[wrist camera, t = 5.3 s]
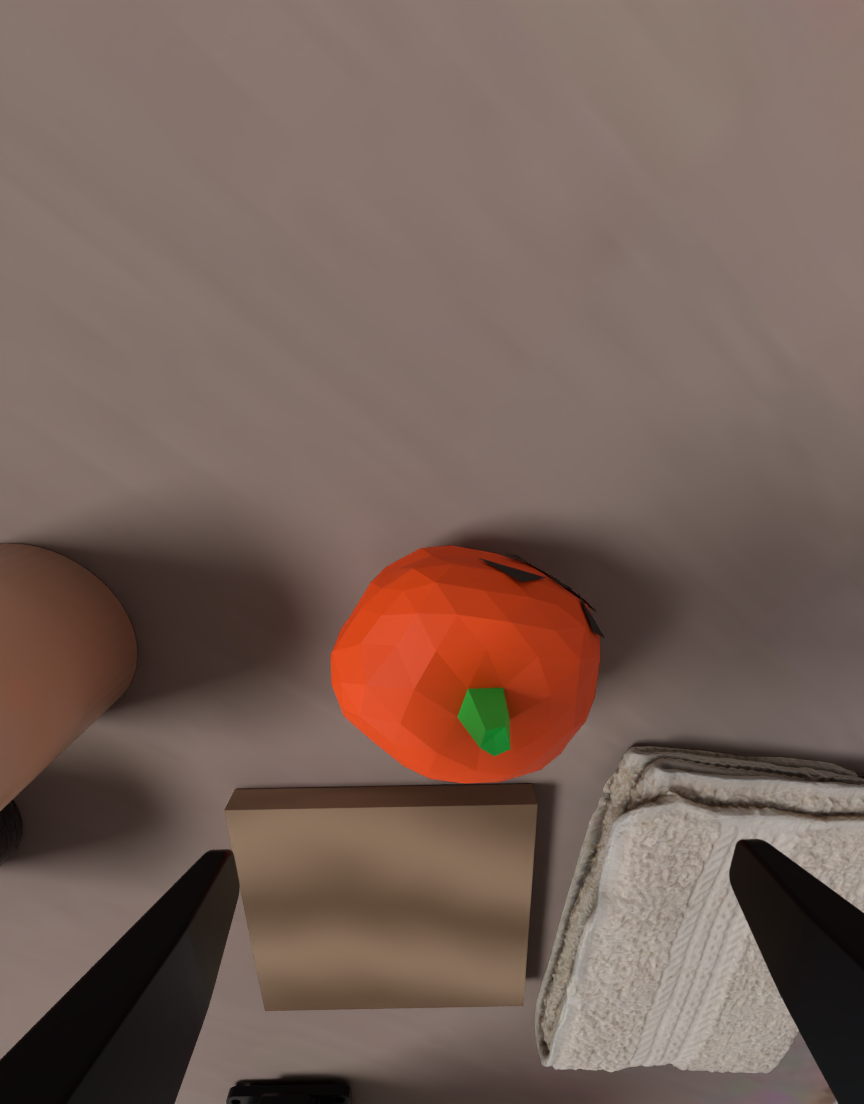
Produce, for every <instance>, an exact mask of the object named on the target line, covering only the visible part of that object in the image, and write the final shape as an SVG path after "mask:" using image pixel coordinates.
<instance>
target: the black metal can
mask: <svg viewBox="0 0 864 1104" xmlns="http://www.w3.org/2000/svg"><path fill="white" fill-rule="evenodd" d="M21 835H22V822H21V818H20V814H19V812H18V809H17V807H16V805H15V804H14V802H13V801H10V802H9V803H8V804H7V805H6V806H5V807H4V808H3V809H2V810H1V811H0V866H1V864H2V863H3V862H4V861H5V860H6V859H7V858H8V857H9V856H10V855H11V854H12V853H13V851H14V850H15V849H16V847H17V846H18V844H19V842H20V839H21Z"/></svg>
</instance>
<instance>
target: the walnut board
mask: <svg viewBox="0 0 864 1104" xmlns="http://www.w3.org/2000/svg"><path fill="white" fill-rule="evenodd" d="M537 805H538V804H537V801H536V797H535V793H534V790H533V786H532V784H493V785H440V786H387V787H335V788H282V789H235V790H234V792H233V794H232V796H231V798H230V800H229V802H228V804H227V806H226V808H225V810H224V811H225V816H226V821H227V826H228V831H229V836H230V841H231V846H232V850H233V853H234V857H235V862H236V867H237V872H238V877H239V883H240V890H241V895H242V900H243V905H244V910H245V915H246V920H247V924H248V929H249V934H250V939H251V944H252V949H253V954H254V959H255V964H256V969H257V974H258V979H259V984H260V989H261V993H262V998H263V1003H264V1008H265V1011H286V1010H336V1009H386V1008H437V1007H487V1006H523V1004H524V990H525V975H526V961H527V947H528V933H529V919H530V904H531V890H532V876H533V862H534V848H535V834H536V819H537Z"/></svg>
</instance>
